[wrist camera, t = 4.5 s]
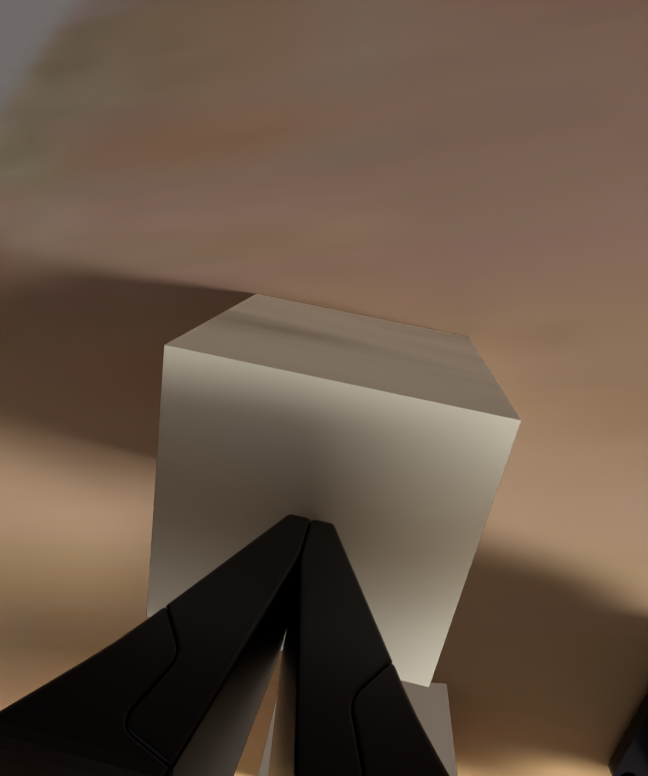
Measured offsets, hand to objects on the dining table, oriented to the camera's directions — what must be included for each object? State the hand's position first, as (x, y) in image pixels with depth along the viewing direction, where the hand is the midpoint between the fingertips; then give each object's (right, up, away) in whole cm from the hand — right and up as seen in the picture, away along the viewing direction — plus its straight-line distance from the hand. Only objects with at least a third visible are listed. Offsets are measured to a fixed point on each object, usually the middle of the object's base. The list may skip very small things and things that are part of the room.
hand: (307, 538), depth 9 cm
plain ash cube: (+1, +2, +6) cm, 6 cm away
